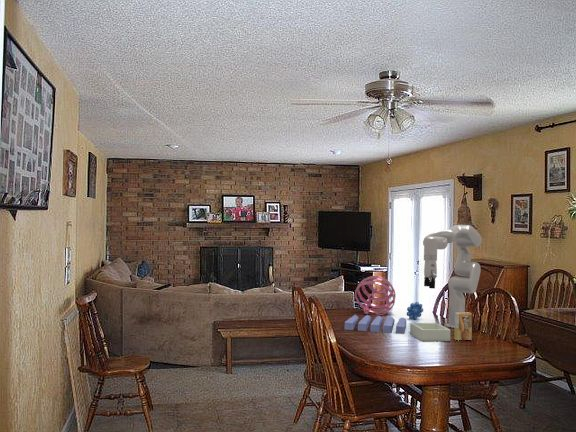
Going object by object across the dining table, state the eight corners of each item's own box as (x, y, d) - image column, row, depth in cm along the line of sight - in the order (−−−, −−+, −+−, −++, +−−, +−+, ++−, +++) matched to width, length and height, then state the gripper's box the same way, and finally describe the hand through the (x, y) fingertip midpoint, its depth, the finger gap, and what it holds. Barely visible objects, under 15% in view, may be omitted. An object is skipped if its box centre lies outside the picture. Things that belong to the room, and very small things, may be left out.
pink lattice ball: (381, 290, 371) (389, 265, 392) (344, 296, 386) (354, 271, 407) (397, 321, 382) (404, 295, 403) (360, 326, 396) (369, 301, 417)
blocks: (344, 330, 335) (344, 322, 335) (351, 320, 369) (352, 313, 369) (404, 335, 327) (404, 326, 327) (406, 324, 361) (406, 317, 361)
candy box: (467, 339, 318) (467, 312, 318) (471, 340, 314) (472, 313, 314) (453, 340, 315) (454, 312, 315) (458, 341, 311) (459, 313, 311)
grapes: (420, 318, 383) (421, 300, 383) (424, 320, 376) (424, 302, 376) (404, 318, 381) (404, 300, 381) (407, 320, 374) (408, 302, 374)
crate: (436, 334, 329) (437, 323, 329) (450, 341, 309) (450, 329, 309) (410, 334, 328) (410, 322, 328) (421, 341, 308) (422, 329, 308)
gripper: (441, 259, 322) (440, 289, 322) (432, 257, 339) (431, 285, 339) (428, 258, 321) (427, 288, 321) (419, 256, 339) (418, 285, 338)
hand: (429, 287), depth 330 cm, fingers open, 9 cm apart
